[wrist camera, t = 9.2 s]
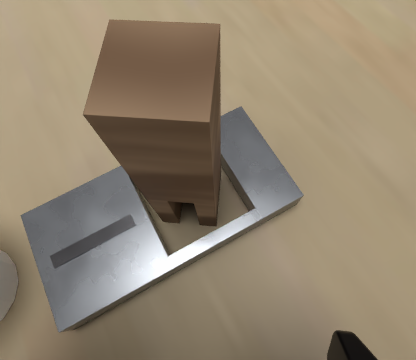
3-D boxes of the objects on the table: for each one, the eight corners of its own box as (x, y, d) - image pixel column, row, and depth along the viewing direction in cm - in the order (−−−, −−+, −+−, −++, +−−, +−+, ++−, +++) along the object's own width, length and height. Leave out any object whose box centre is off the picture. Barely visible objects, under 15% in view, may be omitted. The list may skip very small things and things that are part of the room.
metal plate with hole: (296, 204, 21) (304, 194, 19) (75, 329, 19) (57, 332, 17) (239, 121, 23) (241, 105, 21) (38, 222, 21) (19, 214, 19)
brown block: (216, 226, 21) (209, 122, 8) (163, 221, 21) (83, 114, 9) (220, 176, 22) (220, 23, 10) (170, 172, 22) (109, 19, 10)
